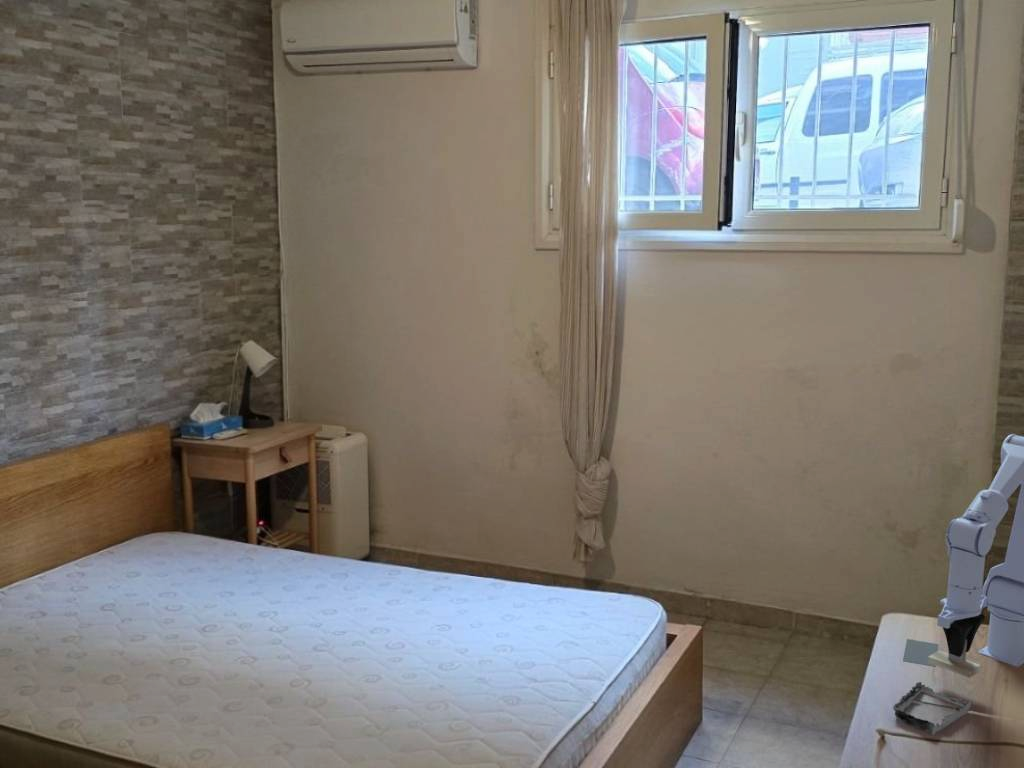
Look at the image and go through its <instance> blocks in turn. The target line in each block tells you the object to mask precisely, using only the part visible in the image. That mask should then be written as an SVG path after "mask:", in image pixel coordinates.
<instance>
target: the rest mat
mask: <svg viewBox="0 0 1024 768" xmlns="http://www.w3.org/2000/svg"><path fill="white" fill-rule="evenodd" d="M905 643H906V644H905V648H904V654H903V658H902V662H906V663H910V664H916V665H923V666H928V667H933V668H937V666H936V665H933V664H930V663H928V656H930V655H932V654H933V653H935V652H937V651H938V650H939V644H938V643H934V642H927V641H921V640H916V639H910V638H907V639H906V642H905Z"/></svg>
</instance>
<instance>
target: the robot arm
mask: <svg viewBox="0 0 1024 768" xmlns="http://www.w3.org/2000/svg"><path fill="white" fill-rule="evenodd" d="M1020 485H1021V486H1020ZM1019 486H1020V491H1019V495H1018V499H1017V503H1016V509H1015V513H1014V519H1013V522H1012V527H1011V530H1010V531H1011V532H1010V536H1009V541H1008V545H1007V549H1006V554H1005V558H1004V562H1003V563H1000V564H999V563H998V564H996V565H995V566H993V567H991V568H990V569H989V572H988V574H987V578H986V579H985V582H984V572H985V562H986V561H985V560H986V555H987V554H988V553H989V552H990V550H991V548H992V545H993V542H994V538H995V536H996V533H997V530H996V528H997V527H998V526H999V524H1000V522H1001V521H1002V519H1003V517H1005V515H1006V513H1007V512H1008V510H1009V503H1008V501H1007V500H1008V499H1009V498H1011V496H1012V494H1014V492H1015V491H1016V490H1017V488H1018V487H1019ZM945 544H946V546H947V556H948V557H949V569H948V579H947V581H948V582H947V593H946V597H944V598H942V599H940V602H939V604H940V605H942V606H943V608H942V610H941V612H940V614H938V615H937V622H936V626H939V627H942V629H943V632H944V635H945V639H946V644H947V649H948V653H950V654H952V655H955V656H958V657H960V656H962V653H963V650H964V646H965V641H966V639H967V647H966V653H968V652H969V651H970V650H971V647H972V644H973V642H974V639H975V636H976V634H977V632H978V630H979V628H980V627H981V626H982V624H983V622H984V621H985V620H986V619H985V618H986V617H985V616H986V615H984V614H982V611H983V608H986V607H987V611H988V612H990V613H989V614H990V615H989V625H988V634H987V635H988V636H987V643H986V644H987V645H986V646H984V647H983V648H981V649H980V650H978V651H977V652H978V654H980V655H983V656H985V657H988V658H991V659H994V660H997V661H1000V662H1003V663H1006V664H1007V665H1011V666H1014V667H1016V668H1018V667H1021V666H1022V665H1023V664H1024V436H1021V435H1017V434H1015V433H1011V434H1009V435H1008V436H1007V437H1005V439H1004V440H1003V442H1002V444H1001V448H1000V467H999V468H998V471H997V473H996V474H995V476H994V479H993V480H992V482H991V484H990V486H989V487H988V489H983V490H980V491H979V492H978V493H977V494H976V496H975V497H974V499H973V500H972V502H971V503H970V504H969V505H968V507H967V509H966V510H965V512H964V513H963V515H962V516H961V517H958V518H953V519H952V520H951V521H950V523H949V525H948V527H947V529H946V534H945ZM983 582H984V584H983Z"/></svg>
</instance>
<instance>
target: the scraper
mask: <svg viewBox="0 0 1024 768" xmlns="http://www.w3.org/2000/svg"><path fill="white" fill-rule="evenodd" d="M966 647H967V639H966V641H965V646H964V650H963V653H962V656H960V657H958V656H955V655H952V654H950V653H949V652H946V651H943V650H940V649H938V651H937V652H935V653H933V654H932V655H930V656H928V663H930V664H933V665H936V667H937V668H938V667H939V668H941V669H944V670H945V671H946V670H947V671H949V672H951V673H955V674H958V675H960V676H963V677H965V678H967V679H970V678H972V677H973V676H975V675H976V674H978V673H980V671H981V664H979V663H975V662H974V661H973V662H972V661H971V660H967V652H966Z"/></svg>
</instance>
